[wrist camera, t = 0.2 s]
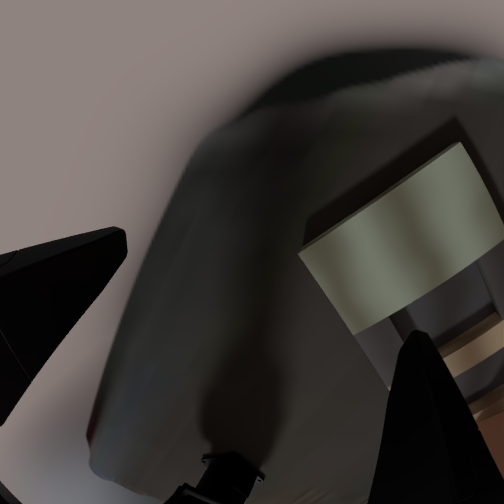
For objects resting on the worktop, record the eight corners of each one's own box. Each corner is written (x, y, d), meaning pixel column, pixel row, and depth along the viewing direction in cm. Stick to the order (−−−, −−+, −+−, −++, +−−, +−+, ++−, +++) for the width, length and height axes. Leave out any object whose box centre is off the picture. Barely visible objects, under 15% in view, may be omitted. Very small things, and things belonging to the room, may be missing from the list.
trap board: (439, 461, 25) (440, 474, 23) (302, 246, 24) (297, 253, 22) (543, 403, 19) (548, 414, 17) (451, 143, 18) (460, 141, 16)
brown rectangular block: (472, 449, 21) (484, 524, 12) (471, 424, 21) (488, 506, 11) (509, 433, 19) (529, 505, 10) (511, 407, 19) (538, 483, 10)
